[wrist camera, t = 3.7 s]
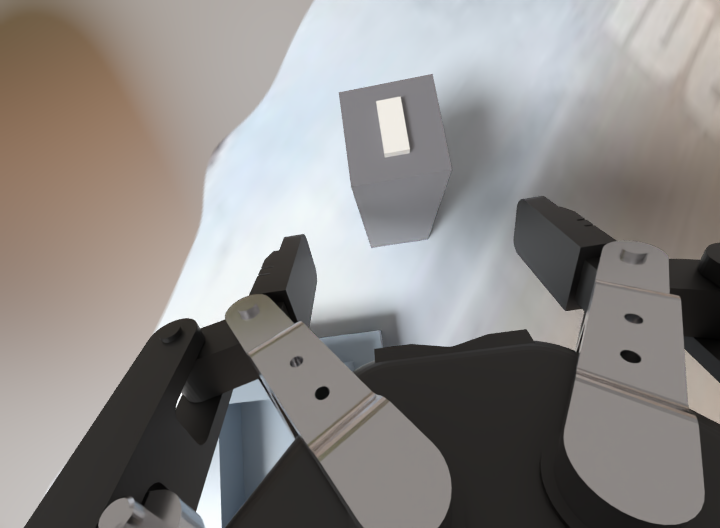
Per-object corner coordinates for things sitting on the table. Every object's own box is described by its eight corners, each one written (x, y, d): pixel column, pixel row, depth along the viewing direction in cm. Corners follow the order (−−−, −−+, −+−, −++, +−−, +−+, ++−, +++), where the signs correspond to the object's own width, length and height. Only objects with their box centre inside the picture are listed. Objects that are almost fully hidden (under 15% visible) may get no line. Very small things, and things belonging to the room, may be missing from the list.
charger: (363, 190, 23) (337, 87, 13) (417, 181, 23) (433, 68, 13) (371, 247, 22) (350, 183, 12) (427, 239, 22) (453, 165, 12)
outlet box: (211, 352, 22) (165, 358, 18) (380, 329, 21) (376, 330, 17) (216, 549, 20) (165, 613, 15) (409, 535, 19) (413, 599, 14)
